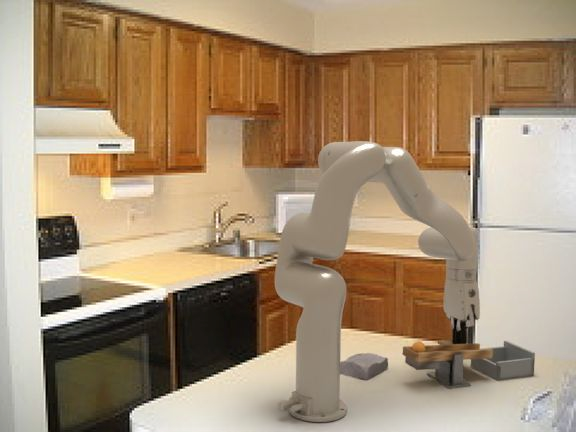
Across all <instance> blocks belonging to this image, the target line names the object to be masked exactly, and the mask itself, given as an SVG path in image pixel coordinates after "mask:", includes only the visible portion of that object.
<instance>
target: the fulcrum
mask: <svg viewBox="0 0 576 432" xmlns="http://www.w3.org/2000/svg"><path fill="white" fill-rule="evenodd" d="M442 345H444V344H442ZM426 375H427V376H428V377H430V378H431V379H433V380H434V381H436V382H438V383H439V384H441V385H443V386H444V387H446V388H447V389H449V390H451V389H458V388H466V387H467V388H468V387H471V386H472V383H471V382H469V381H467V380H466V379H464V378H463V375H464V360H463V354H462V353H458V354H453V360H447V361H440V362H439V369H434V371H430V372H429V371H428V372H426Z"/></svg>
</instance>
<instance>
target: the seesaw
mask: <svg viewBox="0 0 576 432" xmlns="http://www.w3.org/2000/svg"><path fill="white" fill-rule="evenodd" d="M442 344H444V345H442ZM480 347H481V344H480V343H474V342H473V343H468V342H466V344H453V343H452V339H446V340H437V344H430V345H425V352H422V353H417V352H415V351H413V350H412V346H411V345H410V346H409V345H408V346H402V355H403V356H404V357H405V360H404V362H405V364H407V366H410V367H411V368H412V369H414V370H417V371H421V370H422V371H423V370H435V369H439V362H440V361H447V360H453V354H458V353H462V354H463V361H464V360H471V359H485V358H492V356H493V350H492V349H486V350H481V349H482V348H480Z"/></svg>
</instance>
